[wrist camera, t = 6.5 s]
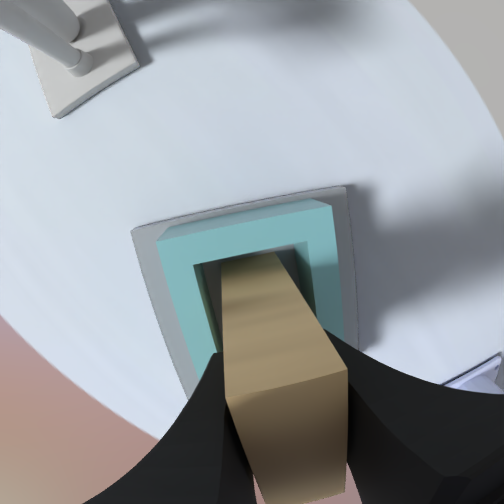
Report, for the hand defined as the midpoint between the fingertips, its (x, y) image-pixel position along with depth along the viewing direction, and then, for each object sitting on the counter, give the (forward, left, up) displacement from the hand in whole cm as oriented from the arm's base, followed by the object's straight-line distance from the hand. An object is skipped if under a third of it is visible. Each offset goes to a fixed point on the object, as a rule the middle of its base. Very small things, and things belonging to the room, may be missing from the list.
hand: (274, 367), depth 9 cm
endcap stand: (0, 0, -5) cm, 5 cm away
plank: (0, 0, -4) cm, 4 cm away
